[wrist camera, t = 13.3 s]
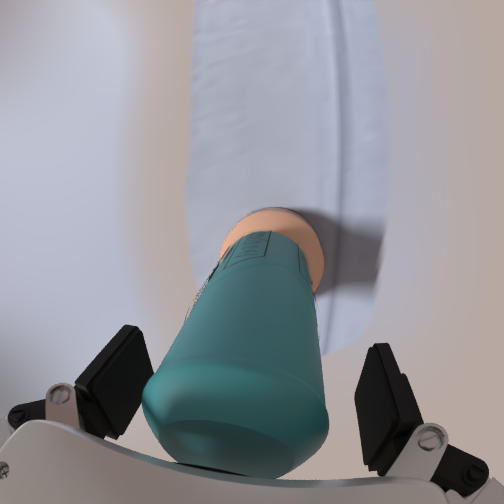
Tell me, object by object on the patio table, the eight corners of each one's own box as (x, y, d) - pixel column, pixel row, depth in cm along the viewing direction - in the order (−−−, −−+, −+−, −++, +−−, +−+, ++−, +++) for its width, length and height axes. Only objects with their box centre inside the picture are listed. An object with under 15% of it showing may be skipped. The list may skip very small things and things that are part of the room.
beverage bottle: (231, 216, 21) (21, 454, 2) (317, 230, 21) (396, 540, 2) (223, 291, 23) (110, 527, 5) (301, 305, 23) (296, 568, 4)
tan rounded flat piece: (280, 187, 23) (279, 190, 20) (338, 261, 24) (344, 274, 21) (209, 246, 26) (199, 256, 23) (267, 311, 27) (264, 327, 24)
